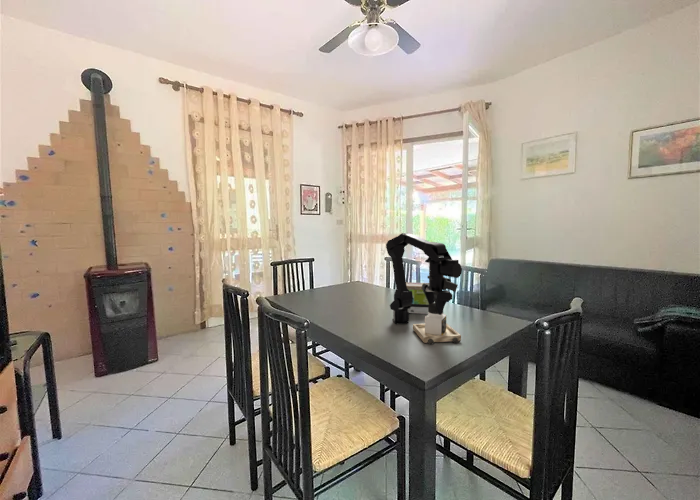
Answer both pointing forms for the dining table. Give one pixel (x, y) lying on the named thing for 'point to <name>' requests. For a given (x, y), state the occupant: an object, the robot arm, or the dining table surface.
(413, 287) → the tea box
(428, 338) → the trolley
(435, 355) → the dining table surface
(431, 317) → the medicine bottle
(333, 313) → the dining table surface
